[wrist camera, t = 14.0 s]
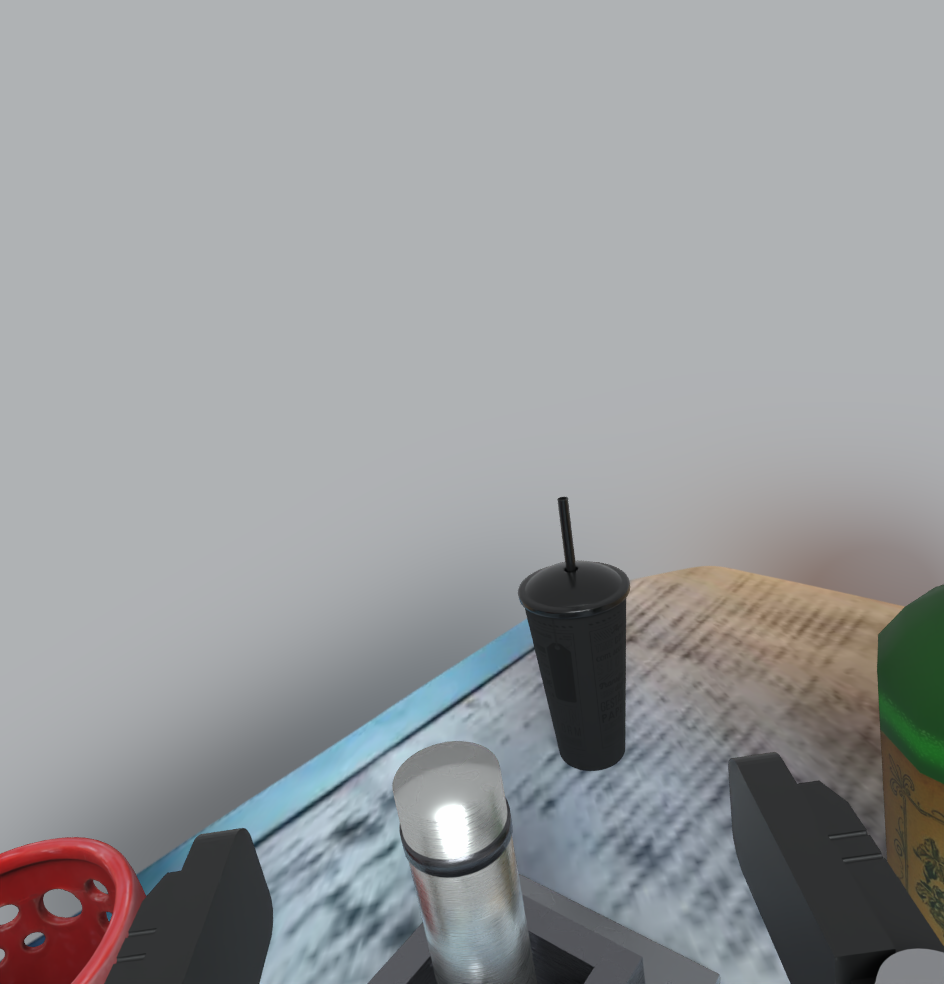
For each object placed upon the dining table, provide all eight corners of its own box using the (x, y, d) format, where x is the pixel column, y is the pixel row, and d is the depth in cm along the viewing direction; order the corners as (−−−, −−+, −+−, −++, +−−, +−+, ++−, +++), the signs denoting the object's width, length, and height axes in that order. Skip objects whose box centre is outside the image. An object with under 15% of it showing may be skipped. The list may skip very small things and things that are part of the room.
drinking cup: (663, 767, 54) (640, 503, 48) (560, 796, 53) (522, 530, 47) (621, 708, 61) (596, 471, 55) (529, 732, 60) (493, 493, 54)
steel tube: (493, 990, 39) (441, 728, 34) (569, 1039, 36) (525, 760, 31) (434, 1068, 36) (366, 792, 31) (512, 1129, 33) (452, 835, 28)
